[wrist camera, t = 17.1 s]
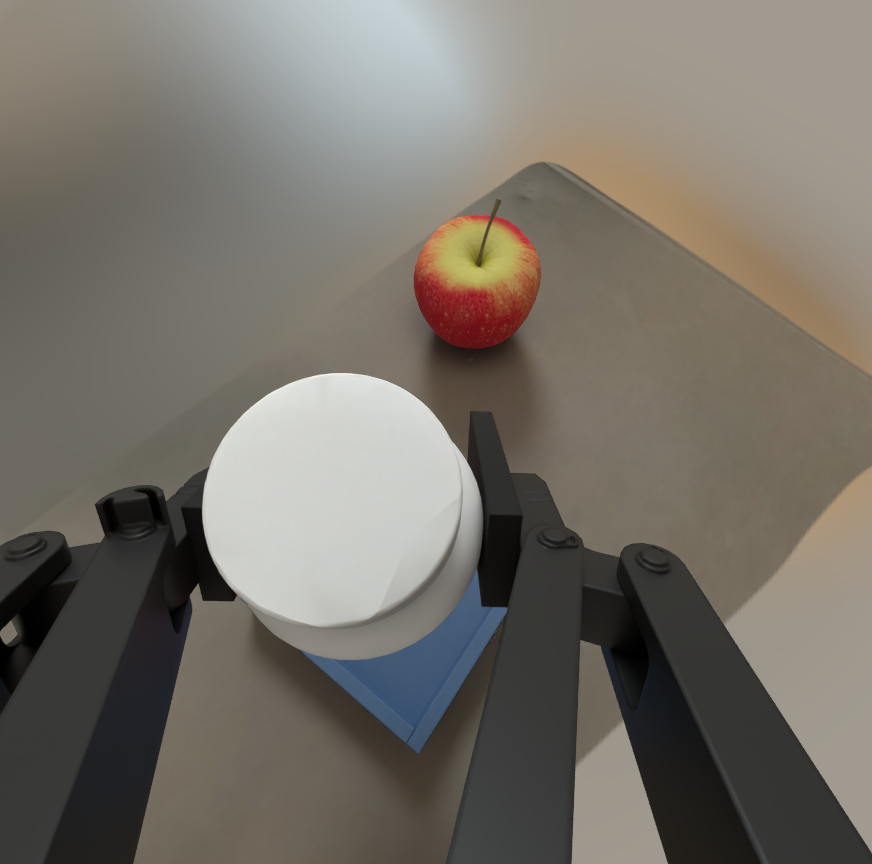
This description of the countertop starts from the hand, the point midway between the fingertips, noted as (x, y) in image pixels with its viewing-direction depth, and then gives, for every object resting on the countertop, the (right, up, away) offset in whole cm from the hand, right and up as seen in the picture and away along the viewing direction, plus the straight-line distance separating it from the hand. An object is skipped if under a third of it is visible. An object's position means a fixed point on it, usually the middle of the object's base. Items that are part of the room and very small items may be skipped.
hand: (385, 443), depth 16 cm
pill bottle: (0, -5, +2) cm, 5 cm away
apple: (+5, +9, +18) cm, 21 cm away
